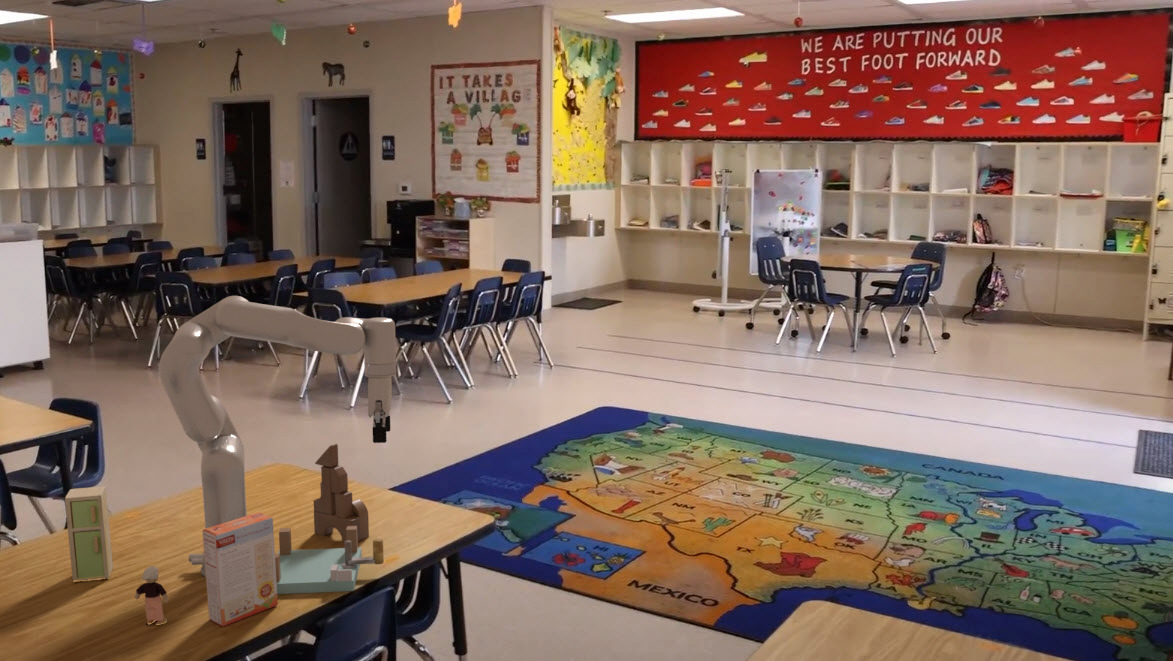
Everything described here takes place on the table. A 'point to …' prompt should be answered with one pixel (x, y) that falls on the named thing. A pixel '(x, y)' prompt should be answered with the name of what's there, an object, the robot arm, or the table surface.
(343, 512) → the wooden toy
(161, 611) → the grandmother figurine
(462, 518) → the table surface
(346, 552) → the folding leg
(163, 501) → the table surface
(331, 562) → the mint green baseplate
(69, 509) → the toy refrigerator
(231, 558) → the cracker box
